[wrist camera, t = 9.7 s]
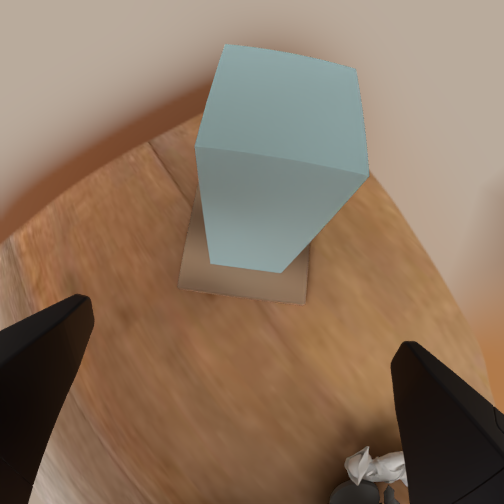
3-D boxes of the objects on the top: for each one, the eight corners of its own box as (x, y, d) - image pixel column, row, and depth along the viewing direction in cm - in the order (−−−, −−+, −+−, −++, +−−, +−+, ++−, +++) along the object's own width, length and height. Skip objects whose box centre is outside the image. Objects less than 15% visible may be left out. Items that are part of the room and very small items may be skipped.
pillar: (280, 273, 22) (369, 176, 8) (210, 263, 21) (194, 146, 8) (286, 208, 23) (356, 68, 10) (220, 199, 23) (225, 44, 9)
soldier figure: (413, 504, 18) (321, 523, 14) (402, 465, 22) (313, 470, 18) (481, 467, 14) (409, 491, 11) (464, 426, 18) (390, 426, 15)
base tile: (300, 307, 23) (305, 304, 21) (180, 291, 22) (177, 287, 21) (307, 200, 25) (311, 191, 24) (201, 184, 25) (200, 175, 23)
